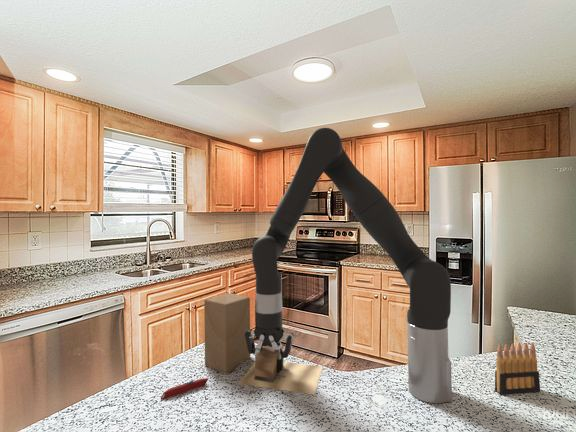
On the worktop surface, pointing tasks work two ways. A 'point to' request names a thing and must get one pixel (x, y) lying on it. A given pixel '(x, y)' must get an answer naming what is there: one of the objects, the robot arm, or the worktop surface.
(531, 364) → the ammunition clip
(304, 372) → the pine board
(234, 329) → the wooden block
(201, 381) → the utility knife
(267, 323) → the robot arm
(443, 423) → the worktop surface
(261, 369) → the block
